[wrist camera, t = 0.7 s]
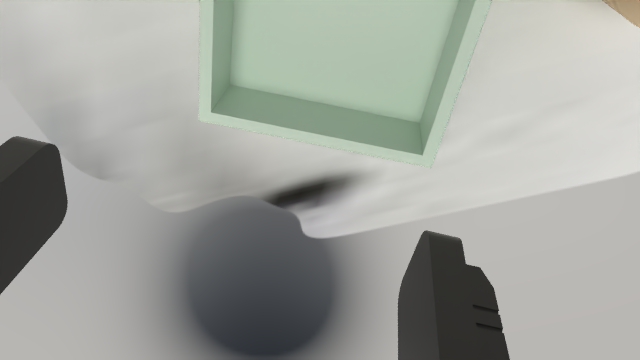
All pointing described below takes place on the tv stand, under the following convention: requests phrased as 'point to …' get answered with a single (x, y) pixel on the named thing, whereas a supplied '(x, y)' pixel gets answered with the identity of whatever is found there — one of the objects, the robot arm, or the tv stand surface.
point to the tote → (338, 70)
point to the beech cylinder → (627, 9)
